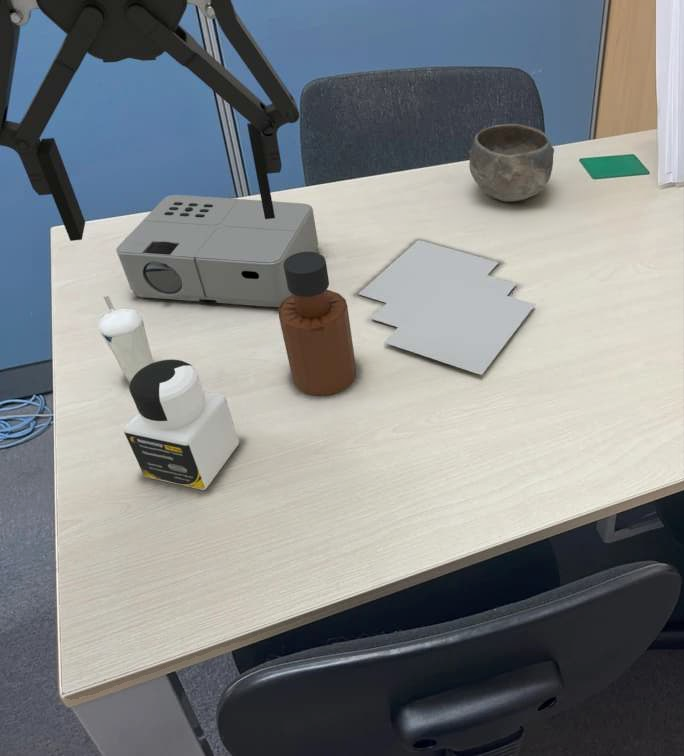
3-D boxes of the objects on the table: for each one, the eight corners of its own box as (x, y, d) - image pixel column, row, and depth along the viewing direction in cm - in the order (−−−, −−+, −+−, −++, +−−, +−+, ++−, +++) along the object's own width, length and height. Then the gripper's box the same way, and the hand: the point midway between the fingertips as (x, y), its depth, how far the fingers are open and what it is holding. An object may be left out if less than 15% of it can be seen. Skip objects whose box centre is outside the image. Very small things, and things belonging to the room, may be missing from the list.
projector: (181, 239, 109) (166, 192, 104) (322, 249, 108) (314, 202, 103) (129, 301, 96) (109, 251, 91) (288, 313, 95) (278, 263, 90)
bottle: (296, 401, 83) (276, 310, 74) (290, 361, 88) (270, 272, 79) (360, 389, 84) (348, 299, 76) (351, 351, 90) (338, 263, 81)
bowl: (461, 208, 119) (460, 151, 112) (480, 169, 130) (481, 115, 124) (543, 218, 117) (547, 160, 111) (555, 178, 129) (560, 123, 122)
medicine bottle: (143, 477, 73) (103, 391, 65) (182, 430, 79) (150, 345, 71) (205, 492, 72) (172, 406, 64) (241, 442, 77) (215, 358, 69)
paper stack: (322, 326, 93) (321, 321, 93) (418, 240, 111) (418, 236, 110) (481, 379, 86) (481, 374, 86) (557, 278, 104) (558, 274, 103)
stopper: (296, 329, 78) (285, 276, 74) (292, 307, 81) (281, 254, 77) (336, 323, 79) (328, 270, 75) (331, 301, 82) (322, 249, 78)
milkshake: (152, 356, 88) (126, 288, 81) (168, 379, 85) (142, 310, 78) (113, 370, 86) (84, 302, 79) (128, 394, 83) (99, 325, 76)
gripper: (298, -120, 47) (333, 183, 60) (-158, -127, 40) (-1, 216, 54) (313, -103, 41) (348, 224, 55) (-210, -108, 34) (-21, 268, 48)
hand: (176, 221), depth 54 cm, fingers open, 13 cm apart
